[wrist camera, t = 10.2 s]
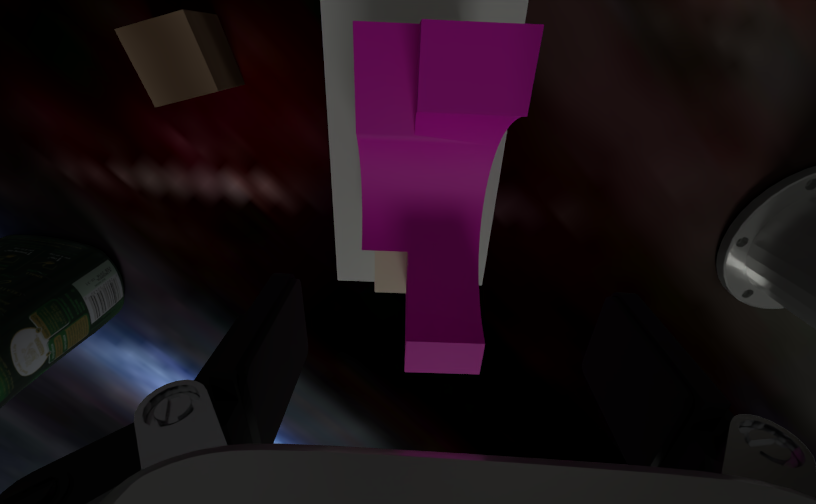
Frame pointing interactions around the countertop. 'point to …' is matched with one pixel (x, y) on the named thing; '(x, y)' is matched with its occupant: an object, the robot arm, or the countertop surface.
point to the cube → (180, 56)
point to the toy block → (436, 164)
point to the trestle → (338, 12)
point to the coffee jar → (50, 303)
